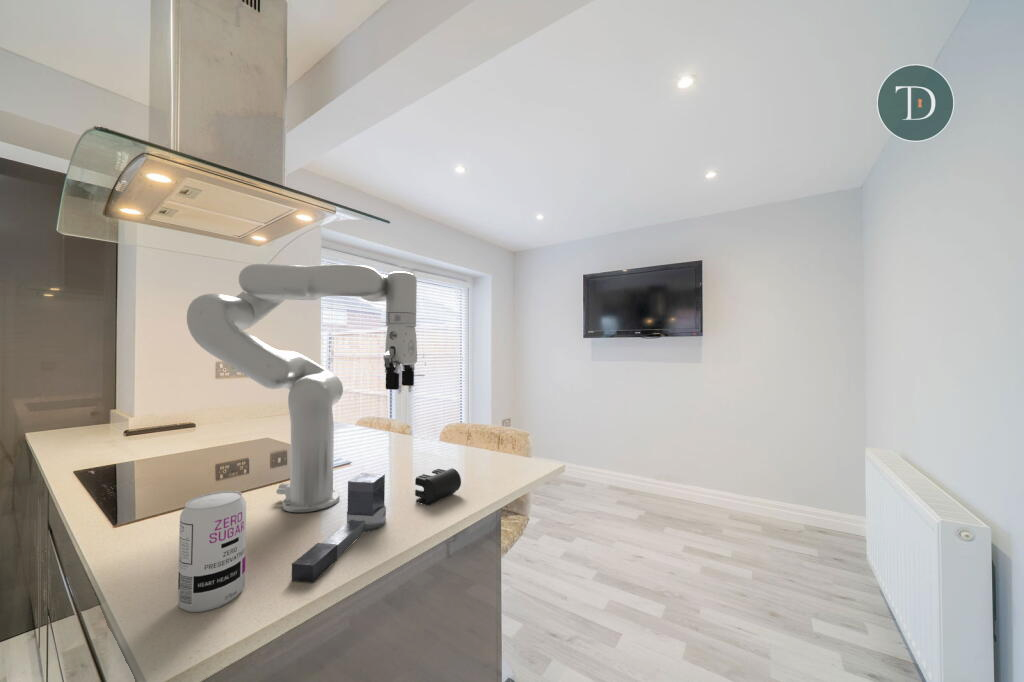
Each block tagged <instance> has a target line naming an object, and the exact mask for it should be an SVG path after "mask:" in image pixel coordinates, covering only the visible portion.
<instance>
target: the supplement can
mask: <svg viewBox="0 0 1024 682" xmlns="http://www.w3.org/2000/svg"><path fill="white" fill-rule="evenodd" d="M178 537H179V539H178V540H179V541H178V581H177V583H178V584H177V586H178V588H177V605H178V607H179V608H180V609H183V610H184V611H186V612H189V613H202V612H206V611H207V612H208V611H211V610H214V609H217V608H220V607H222V606H224V605H226V604H227V603H230V602H231V601H233V600H234V599H235V598H236V597H238V595H239V594H240V593H241V592H242V590H243V589H244V588H245V586H246V551H247V550H246V549H247V548H246V545H247V544H246V541H247V538H246V537H247V500H245V498H244V497H243V492H240V491H237V490H222V491H216V492H215V491H214V492H211V493H206V494H202V495H199V496H196V497H193V498H192V499H189V500H188V501H186V502H185V506H184V508H183V510H182V511H181V513H180V515H179V535H178Z"/></svg>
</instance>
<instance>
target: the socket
mask: <svg viewBox="0 0 1024 682" xmlns="http://www.w3.org/2000/svg"><path fill="white" fill-rule="evenodd" d="M385 475H386V474H384V473H368V472H367V473H366V472H361V473H359V474H358V475H356V476H354V477H353V478H351V479H350V480H349V479H348V480H347V511H348V515H362V516H373V515H374V514H376V513H377V512H378V511H379V510H380V509H381V508H382V507H383V506H384V505H385V493H386V492H385V489H386V488H385V483H386V481H385V480H386V479H385V478H386V476H385Z"/></svg>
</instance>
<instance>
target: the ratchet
mask: <svg viewBox="0 0 1024 682" xmlns="http://www.w3.org/2000/svg"><path fill="white" fill-rule="evenodd" d="M386 518H387V506H386V504H384V506H383V507H382V508H381V509H380V510H379V511H378V512H377V513H376V514H374V515H373V516H362V515H348V510H347V512H346V523H345V524H344V525H342V526H341V527H340V528H339V529H337V530H336V531H335V532H334V533H333V534H332V535H330V536H329V537H327V538H326V539H325V540H324V541H323V542H318V543H316V544H314V545H313V546H312V547H310V548H309V549H308V550H307V551H306V552H304V554H302V555H301V556H300V557H299V558H297V559H296V560H294V561H293V562H292V563H291V582H301V583H309V584H313V583H315V582H316V581H317V580H318V579H319V578H320V577H321V576H322V575H323V574H324V573H326V571H327V570H328V569H330V567H331V566H332V565H334V564H335V561H336V562H337V561H338V558H339V557H340V556H341V555H343V553H345V552H346V551H345V550H346V549H347V548H348V547H349V546H350V545H351V544H352V543H353V542H354V541H355V540H356V539H357V540H359V538H361V537H362V536H363V535H364V534H365V533H369V532H373V531H376V530H378V529H380V528H382V527H383V526H385V524H386V523H385V522H386V521H387V519H386ZM368 531H369V532H368ZM364 532H365V533H364ZM363 533H364V534H363ZM362 534H363V535H362ZM361 535H362V536H361ZM360 536H361V537H360ZM357 540H356V541H357ZM356 541H355V542H356ZM355 542H354V543H355ZM354 543H353V544H354ZM353 544H352V545H353ZM352 545H351V546H352ZM351 546H350V547H351ZM350 547H349V548H350ZM349 548H348V549H349ZM348 549H347V550H348ZM344 551H345V552H344Z"/></svg>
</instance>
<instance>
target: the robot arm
mask: <svg viewBox="0 0 1024 682" xmlns="http://www.w3.org/2000/svg"><path fill="white" fill-rule="evenodd" d="M238 283H239V287H240V288H241V290H242V292H240V293H239V294H237V295H236V296H232V295H228V294H222V293H206V294H205V293H204V294H202V295H199V296H197V297H195V298H194V299H193V300H192V301H191V303H190V304H189V305H188V308H187V310H186V312H187V313H186V325H187V328H188V330H189V333H190V335H191V336H192V338H193V340H194V341H195V342H196V344H198V345H199V346H200V347H201V348H202V349H203V350H204V351H206V352H207V353H209V354H210V355H212V356H213V357H215V358H217V359H218V360H220V361H222V362H223V363H225V364H227V365H229V366H230V367H232V368H233V369H235V370H236V371H238V372H239V373H241V374H242V375H244V376H246V377H247V378H249V379H250V380H253V381H254V382H256V383H257V384H259V385H261V386H263V387H264V388H265V389H266V388H267V389H271V390H278V389H284V388H285V389H288V390H289V392H288V397H287V399H288V400H287V403H288V411H289V420H290V459H289V460H290V463H289V464H290V467H289V471H290V472H289V483H285V482H283V483H280V484H279V486H278V488H277V489H276V494H277V495H285V499H284V500H282V503H281V504H282V505H281V506H282V510H284V511H287V512H289V513H309V512H311V513H312V512H317V511H320V510H323V509H326V508H329V507H332V506H333V505H335V504H337V502H339V500H340V495H341V494H340V492H339V491H337V490H336V489H335V490H334V451H335V450H334V448H335V447H334V446H335V445H334V444H335V442H334V441H335V440H334V439H335V434H334V433H335V429H334V427H335V424H334V413H333V406H334V405H336V404H337V403H338V402H339V401H340V400H341V398H342V396H343V394H344V393H343V392H344V387H343V383H342V381H341V379H340V378H339V377H338V376H337V375H336V374H334V373H332V372H331V371H330V370H327V368H325V367H323V366H321V365H320V364H319V363H316V362H315V361H313V360H311V358H309V357H306V356H305V355H303V354H301V353H299V352H297V351H293V350H280V349H276V348H275V347H273V346H270V345H269V344H266V343H265V342H264V341H261V340H260V339H259V338H258V337H256V336H254V335H253V334H250V333H248V332H246V331H245V330H247V329H250V328H251V327H254V326H255V325H256V324H257V323H259V322H260V321H261V320H263V319H265V317H266V316H268V315H269V314H270V313H271V312H273V311H274V310H276V308H278V307H279V306H280V305H282V303H283V302H285V301H286V300H293V301H296V300H297V301H316V300H318V299H321V298H323V297H359V298H361V299H363V300H366V301H367V302H373V303H375V302H384V301H385V303H386V304H385V311H386V312H385V327H387V328H386V335H385V337H386V338H385V353H384V355H383V361H384V364H383V365H384V373H385V389H386V390H393V391H394V390H399V389H400V373H399V372H398V371H399V369H400V366H401V367H402V370H401V386H403V387H404V386H405V387H406V386H409V387H411V386H414V385H415V364H416V363H417V362H418V345H417V344H418V343H417V332H416V327H417V287H418V285H417V276H416V275H415V274H413V273H411V272H407V271H393V272H390V273H388V274H387V275H386V274H381V273H380V272H379V271H377V270H376V269H375V268H373V267H370V266H366V265H358V264H357V265H356V264H335V263H334V264H331V263H330V264H322V265H321V264H319V265H318V264H317V265H297V264H296V265H291V264H290V265H289V264H275V263H272V264H271V263H255V264H249V265H247V266H245V267H244V268H243V269H241V271H240V273H239V275H238Z"/></svg>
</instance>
